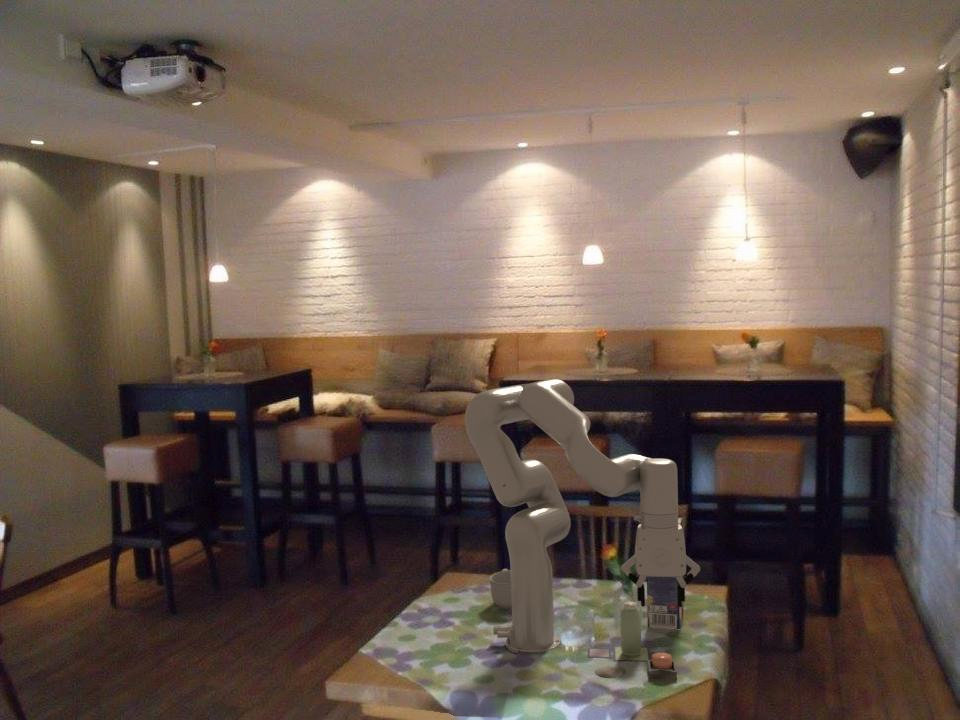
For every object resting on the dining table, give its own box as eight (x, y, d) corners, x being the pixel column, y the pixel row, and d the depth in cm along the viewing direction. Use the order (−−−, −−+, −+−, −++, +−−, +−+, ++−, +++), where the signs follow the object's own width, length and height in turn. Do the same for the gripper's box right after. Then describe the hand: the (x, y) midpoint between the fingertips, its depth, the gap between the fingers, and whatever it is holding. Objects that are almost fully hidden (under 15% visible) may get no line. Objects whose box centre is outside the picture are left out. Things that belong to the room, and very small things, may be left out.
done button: (652, 669, 187) (652, 660, 187) (651, 661, 191) (651, 652, 191) (672, 670, 187) (672, 660, 187) (671, 662, 191) (671, 652, 191)
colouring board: (579, 686, 187) (579, 673, 186) (581, 648, 206) (581, 636, 206) (679, 689, 184) (678, 676, 184) (671, 650, 204) (671, 638, 203)
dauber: (621, 657, 198) (620, 607, 197) (620, 649, 202) (619, 600, 201) (641, 657, 197) (640, 607, 197) (640, 649, 202) (640, 600, 201)
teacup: (533, 612, 231) (532, 581, 230) (490, 613, 231) (489, 582, 230) (530, 594, 244) (530, 565, 244) (490, 595, 245) (489, 566, 244)
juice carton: (679, 630, 216) (677, 530, 214) (647, 627, 218) (645, 528, 216) (683, 612, 227) (682, 517, 225) (653, 610, 229) (651, 516, 227)
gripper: (616, 524, 184) (618, 610, 186) (704, 524, 182) (706, 611, 183) (616, 515, 192) (618, 598, 193) (700, 515, 189) (702, 599, 191)
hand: (661, 603), depth 188 cm, fingers open, 6 cm apart
